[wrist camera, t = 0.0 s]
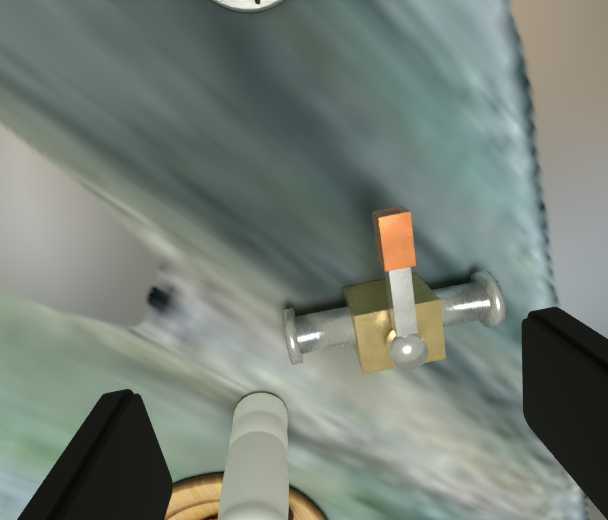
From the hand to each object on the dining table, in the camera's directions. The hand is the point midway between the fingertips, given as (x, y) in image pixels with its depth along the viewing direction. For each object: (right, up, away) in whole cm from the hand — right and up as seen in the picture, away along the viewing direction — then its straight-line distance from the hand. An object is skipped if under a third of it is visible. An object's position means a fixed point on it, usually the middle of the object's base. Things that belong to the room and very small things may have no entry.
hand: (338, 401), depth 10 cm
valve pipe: (+9, -2, +40) cm, 41 cm away
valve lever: (+8, +1, +30) cm, 31 cm away
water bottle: (-7, -17, +44) cm, 47 cm away
